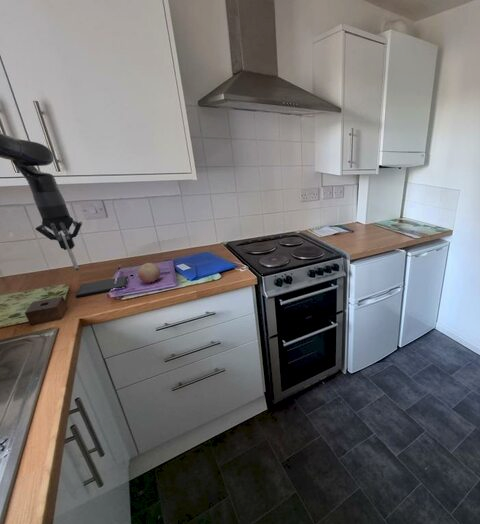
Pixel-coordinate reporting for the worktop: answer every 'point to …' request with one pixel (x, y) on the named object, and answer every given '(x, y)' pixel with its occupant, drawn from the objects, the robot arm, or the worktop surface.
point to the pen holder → (46, 310)
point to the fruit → (149, 272)
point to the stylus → (70, 253)
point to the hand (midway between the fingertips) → (68, 248)
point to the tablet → (100, 286)
